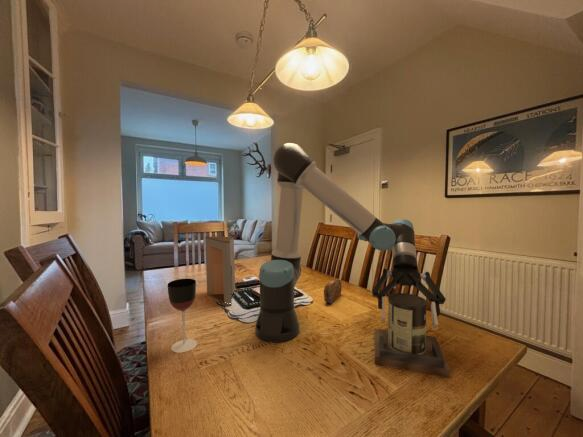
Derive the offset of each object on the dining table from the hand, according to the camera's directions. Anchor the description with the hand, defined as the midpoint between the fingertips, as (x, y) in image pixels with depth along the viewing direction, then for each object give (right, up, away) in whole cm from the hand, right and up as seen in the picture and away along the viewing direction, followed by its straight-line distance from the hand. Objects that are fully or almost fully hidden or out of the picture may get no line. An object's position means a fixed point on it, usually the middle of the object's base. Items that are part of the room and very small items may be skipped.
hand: (408, 323), depth 73 cm
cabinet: (-64, -7, +47) cm, 80 cm away
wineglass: (-67, -10, +7) cm, 68 cm away
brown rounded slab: (-15, -7, +43) cm, 46 cm away
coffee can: (0, -8, +2) cm, 8 cm away
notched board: (0, -10, +2) cm, 10 cm away
